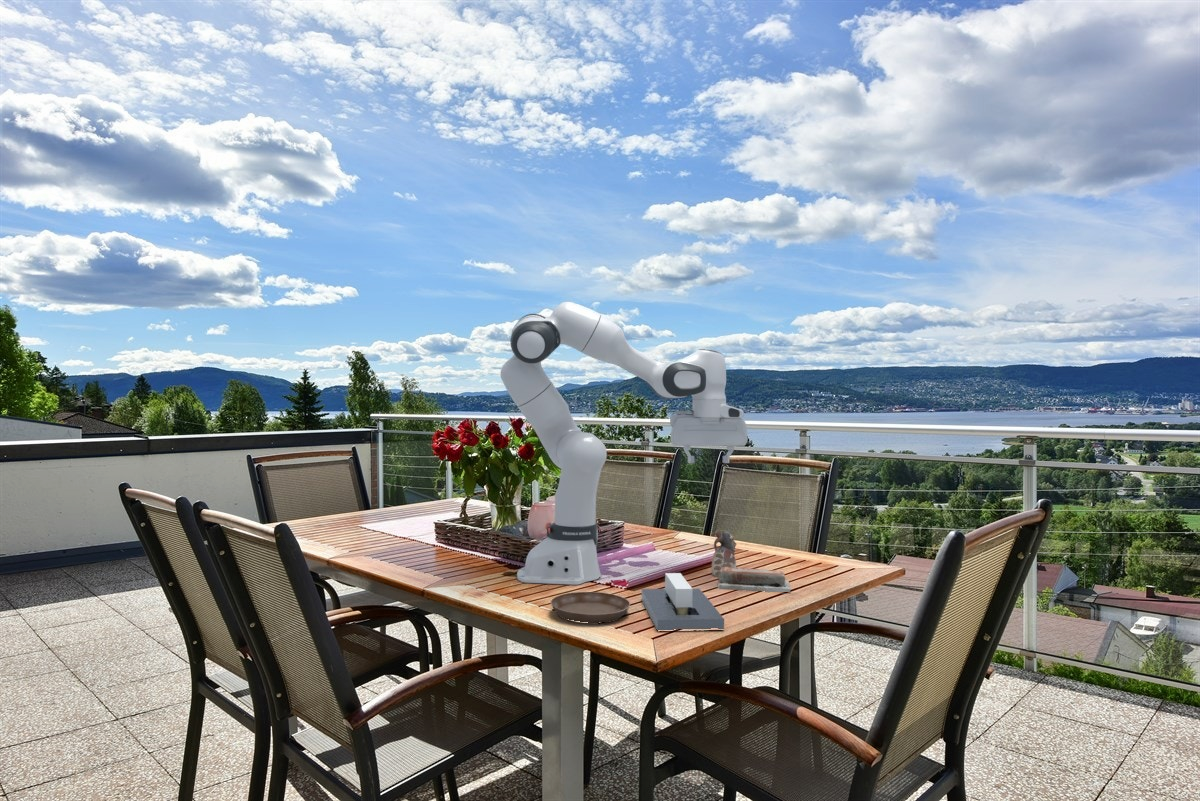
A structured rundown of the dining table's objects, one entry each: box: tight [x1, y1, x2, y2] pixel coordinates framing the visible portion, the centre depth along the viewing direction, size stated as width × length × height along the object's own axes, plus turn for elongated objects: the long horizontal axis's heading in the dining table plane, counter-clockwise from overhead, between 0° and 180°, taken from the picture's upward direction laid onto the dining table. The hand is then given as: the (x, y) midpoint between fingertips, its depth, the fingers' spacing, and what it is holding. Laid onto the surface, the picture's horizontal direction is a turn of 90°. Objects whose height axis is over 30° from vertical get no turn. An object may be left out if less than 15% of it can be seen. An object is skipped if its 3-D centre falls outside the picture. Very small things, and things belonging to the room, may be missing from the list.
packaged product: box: [717, 567, 791, 593], centre depth 189 cm, size 18×5×10 cm
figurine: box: [711, 530, 738, 578], centre depth 201 cm, size 7×7×12 cm
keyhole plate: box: [641, 588, 725, 631], centre depth 164 cm, size 24×14×2 cm, turn 5°
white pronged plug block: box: [664, 572, 694, 615], centre depth 166 cm, size 14×4×7 cm, turn 5°
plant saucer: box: [550, 591, 631, 623], centre depth 164 cm, size 18×18×3 cm
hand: (708, 462), depth 195 cm, fingers open, 8 cm apart
